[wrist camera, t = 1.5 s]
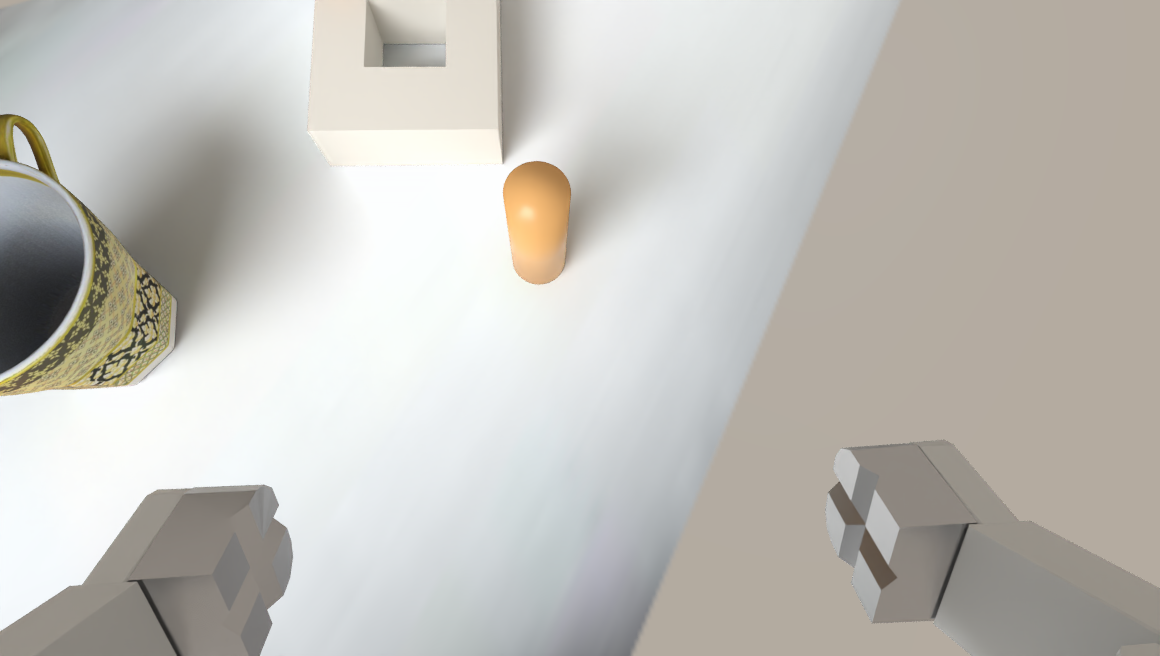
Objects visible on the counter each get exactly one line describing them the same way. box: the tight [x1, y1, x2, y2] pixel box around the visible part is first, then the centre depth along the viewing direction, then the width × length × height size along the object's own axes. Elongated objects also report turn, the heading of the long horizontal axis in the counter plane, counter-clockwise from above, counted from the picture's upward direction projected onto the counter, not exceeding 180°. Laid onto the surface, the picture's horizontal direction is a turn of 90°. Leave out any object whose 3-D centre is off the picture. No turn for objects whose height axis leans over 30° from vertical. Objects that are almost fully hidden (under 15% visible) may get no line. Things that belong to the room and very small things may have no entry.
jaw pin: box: [503, 161, 571, 284], centre depth 34 cm, size 3×3×9 cm
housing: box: [307, 0, 503, 166], centre depth 37 cm, size 10×12×6 cm
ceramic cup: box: [0, 114, 177, 396], centre depth 31 cm, size 13×10×10 cm
